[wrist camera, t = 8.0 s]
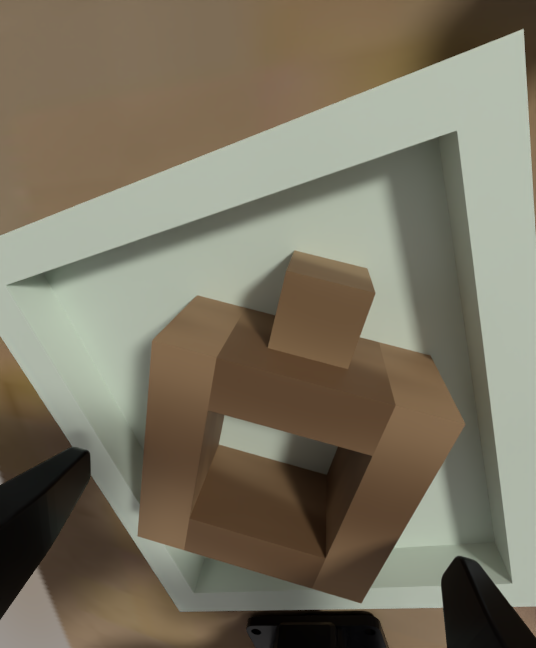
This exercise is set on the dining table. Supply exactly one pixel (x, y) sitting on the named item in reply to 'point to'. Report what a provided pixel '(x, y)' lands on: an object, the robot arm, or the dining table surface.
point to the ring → (292, 432)
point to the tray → (263, 295)
